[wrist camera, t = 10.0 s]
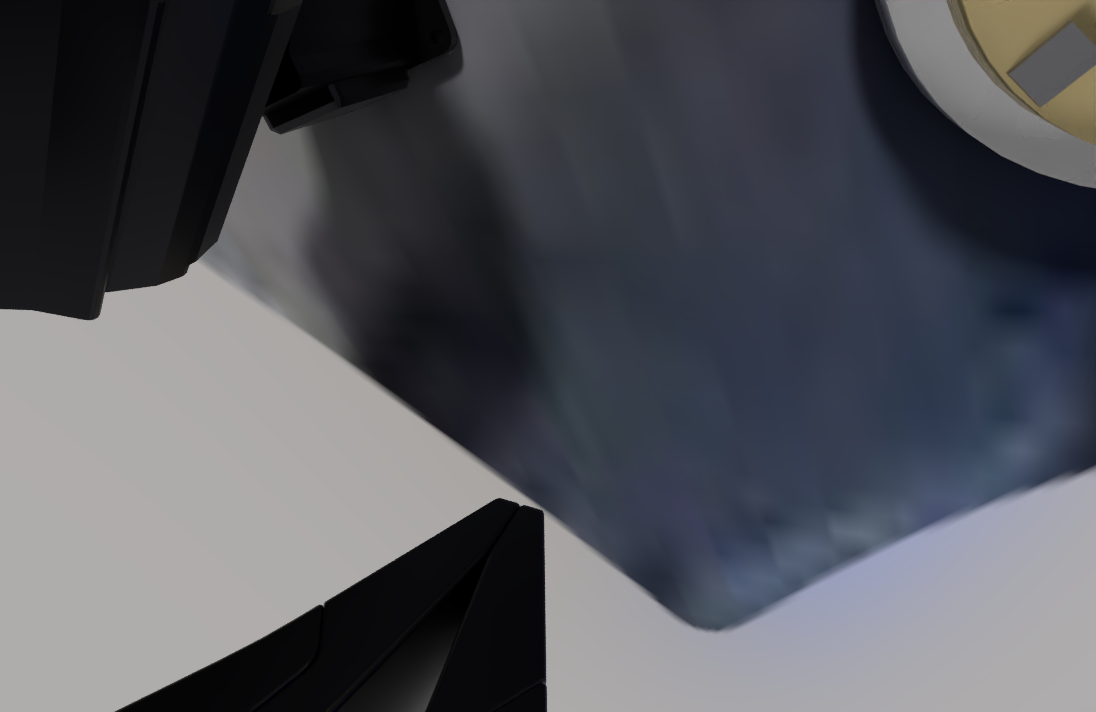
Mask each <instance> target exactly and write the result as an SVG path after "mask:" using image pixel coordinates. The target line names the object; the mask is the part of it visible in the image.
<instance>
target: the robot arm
mask: <svg viewBox="0 0 1096 712" xmlns="http://www.w3.org/2000/svg"><path fill="white" fill-rule="evenodd" d="M438 28H439V29H440V30H441V31H442V32H443V34H444V42H443V44H442V45H441V44H439V43H438V42H437V40H436V38H435V32H436V30H437V29H438ZM456 41H457V35H456V30H455V27H454V25H453V22H452V19H451V17H450V14H449V11H448V9H447V6H446V3H445V1H444V0H0V309H15V310H16V309H17V310H34V311H40V312H45V313H50V314H56V315H61V316H67V317H73V318H77V319H83V320H93V319H96V318H98V316H99V315H100V312H101V307H102V303H103V298H104V293H105V292H111V291H120V290H127V289H134V288H142V287H150V286H157V285H160V284H162V283H165V282H168V281H171V280H174V279H176V278H179V277H182V276H184V275H185V274H186V273H187V270H188V267H189V265H190V264H192V263H194V262H196V261H197V260H198V259H199V258H200V257H201V256H202V255H203V254H204V253H205V252H206V251H207V250H208V249H209V248H210V247H211V246H212V245H214V244H215V243H216V242H217V241H218V238H219V235H220V232H221V229H222V227H223V224H224V221H225V218H226V215H227V213H228V210H229V207H230V204H231V201H232V198H233V196H234V193H235V190H236V187H237V184H238V182H239V179H240V176H241V173H242V170H243V168H244V165H245V162H246V159H247V156H248V153H249V151H250V148H251V145H252V142H253V139H254V137H255V134H256V131H257V128H258V125H259V123H260V120H261V117H264V119H265V121H266V123H267V125H268V126H269V128H270V130H271V131H274V132H276V133H278V134H284V133H287V132H290V131H293V130H296V129H299V128H302V127H305V126H308V125H311V124H315V123H318V122H321V121H324V120H327V119H330V118H333V117H336V116H339V115H342V114H345V113H349V112H352V111H354V110H356V109H359V108H361V107H363V106H366V105H368V104H370V103H373V102H375V101H377V100H380V99H382V98H384V97H387V96H389V95H391V94H394V93H396V92H398V91H401V90H403V89H405V88H407V86H408V83H409V80H410V78H409V76H408V74H407V71H409V70H411V69H414V68H416V67H418V66H420V65H423V64H425V63H427V62H429V61H432V60H434V59H436V58H438V57H441V56H443V55H445V54H447V53H449V52H451V51H452V50H453V49H454V47H455V45H456ZM544 553H545V552H544V513H543V511H542V510H539V509H536V508H533V507H529V506H526V505H523V506H521V507H520V506H519V504H518V503H515V502H512V501H508V500H505V499H501V498H498V499H495V500H493V501H492V502H490V503H488V504H487V505H485V506H483V507H482V508H480V509H478V510H477V511H475V512H473V513H472V514H470V515H469V516H467V517H465V518H463V519H462V520H460V521H458V522H457V523H456V524H453V525H452V526H450V527H449V528H447V529H445V530H444V531H442V532H440V533H439V534H437V535H435V536H434V537H432V538H430V539H429V540H427V541H425V542H424V543H422V544H420V545H419V546H417V547H415V548H414V549H412V550H410V551H409V552H407V553H406V554H404V555H402V556H400V557H399V558H397V559H395V560H394V561H392V562H391V563H389V564H387V565H385V566H384V567H382V568H381V569H379V570H377V571H376V572H374V573H372V574H371V575H369V576H367V577H366V578H364V579H362V580H361V581H359V582H357V583H356V584H354V585H352V586H351V587H349V588H347V589H346V590H344V591H342V592H341V593H339V594H337V595H336V596H334V597H332V598H331V599H329V600H327V601H326V602H325V603H324V606H322V605H318V606H316V607H314V608H313V609H311V610H310V611H308V612H306V613H305V614H303V615H301V616H299V617H298V618H296V619H294V620H293V621H291V622H289V623H287V624H286V625H284V626H282V627H280V628H279V629H277V630H275V631H274V632H272V633H270V634H268V635H267V636H265V637H263V638H261V639H259V640H257V641H255V642H253V643H252V644H250V645H248V646H246V647H244V648H242V649H240V650H238V651H236V652H234V653H232V654H230V655H228V656H226V657H225V658H222V659H220V660H218V661H217V662H214V663H212V664H210V665H208V666H206V667H205V668H203V669H200V670H198V671H196V672H194V673H192V674H190V675H188V676H186V677H184V678H182V679H180V680H178V681H176V682H174V683H172V684H170V685H168V686H166V687H164V688H162V689H160V690H158V691H156V692H154V693H152V694H150V695H147V696H145V697H143V698H141V699H139V700H137V701H135V702H133V703H131V704H129V705H127V706H125V707H123V708H121V709H119V710H117V711H115V712H547V687H546V633H545V632H546V631H545V629H546V626H545V555H544Z"/></svg>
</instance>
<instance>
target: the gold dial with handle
mask: <svg viewBox="0 0 1096 712" xmlns="http://www.w3.org/2000/svg"><path fill="white" fill-rule="evenodd" d="M946 1H947V4H948V7H949V10H950V13H951V16H952V19H953V22H954V24H955V26H956V28H957V30H958V32H959V34H960V35H961V37H962V39H963V41H964V43H965V45H966V46H967V48H968V50H969V52H970V54H971V55H972V57H973V58H974V59H975V61H976V62H977V63H978V64H979V65H980V67H981V68H982V69H983V70H984V72H985V73H986V74H987V75H988V77H989V78H990V79H991V80H992V82H993V83H994V84H995V85H996V86H998V87H999V88H1000V89H1001V90H1002V91H1003V92H1004V93H1006V94H1007V95H1008V96H1009V97H1010V98H1011V99H1013V100H1014V101H1015V102H1016V103H1017V104H1018V105H1020V106H1021V107H1022V108H1024V109H1026V110H1027V111H1029V112H1031V113H1032V114H1034V115H1036V116H1037V117H1039V118H1041V119H1042V120H1044V121H1046V122H1047V123H1049V124H1051V125H1053V126H1055V127H1057V128H1059V129H1061V130H1063V131H1065V132H1067V133H1069V134H1071V135H1073V136H1075V137H1077V138H1079V139H1081V140H1083V141H1086V142H1088V143H1091V144H1093V145H1096V0H946Z"/></svg>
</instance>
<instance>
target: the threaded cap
mask: <svg viewBox="0 0 1096 712" xmlns="http://www.w3.org/2000/svg"><path fill="white" fill-rule="evenodd" d="M874 2H875V5H876V8H877V11H878V14H879V17H880V20H881V23H882V26H883V29H884V33H885V35H886V37H887V39H888V41H889V43H890V45H891V47H892V49H893V51H894V52H895V54H896V56H897V58H898V60H899V62H900V64H901V66H902V67H903V69H904V70H905V72H906V73H907V74H908V76H909V77H910V78H911V80H912V81H913V82H914V84H915V85H916V86H917V88H918V89H919V90H920V92H921V93H922V94H923V95H924V96H925V97H926V98H927V99H928V100H929V101H930V102H931V103H932V104H933V105H934V106H935V107H936V108H937V109H938V110H939V111H941V112H942V113H943V114H944V115H945V116H946V117H947V118H948V119H949V120H951V121H952V122H953V123H955V124H956V125H957V126H959V127H960V128H961V129H963V130H964V131H965V132H967V133H968V134H969V135H971V136H972V137H974V138H975V139H977V140H978V141H980V142H981V143H983V144H984V145H986V146H987V147H989V148H990V149H992V150H993V151H995V152H996V153H998V154H999V155H1001V156H1002V157H1005V158H1007V159H1009V160H1011V161H1013V162H1015V163H1018V164H1020V165H1022V166H1024V167H1026V168H1028V169H1030V170H1033V171H1035V172H1037V173H1039V174H1043V175H1046V176H1050V177H1053V178H1056V179H1060V180H1063V181H1066V182H1070V183H1073V184H1076V185H1080V186H1086V187H1092V188H1096V145H1093V144H1091V143H1088V142H1086V141H1083V140H1081V139H1079V138H1077V137H1075V136H1073V135H1071V134H1069V133H1067V132H1065V131H1063V130H1061V129H1059V128H1057V127H1055V126H1053V125H1051V124H1049V123H1047V122H1046V121H1044V120H1042V119H1041V118H1039V117H1037V116H1036V115H1034V114H1032V113H1031V112H1029V111H1027V110H1026V109H1024V108H1022V107H1021V106H1020V105H1018V104H1017V103H1016V102H1015V101H1014V100H1013V99H1011V98H1010V97H1009V96H1008V95H1007V94H1006V93H1004V92H1003V91H1002V90H1001V89H1000V88H999V87H998V86H996V85H995V84H994V83H993V82H992V80H991V79H990V78H989V77H988V75H987V74H986V73H985V72H984V70H983V69H982V68H981V67H980V65H979V64H978V63H977V62H976V61H975V59H974V58H973V57H972V55H971V54H970V52H969V50H968V48H967V46H966V45H965V43H964V41H963V39H962V37H961V35H960V34H959V32H958V30H957V28H956V26H955V24H954V22H953V19H952V16H951V13H950V10H949V7H948V4H947V1H946V0H874Z"/></svg>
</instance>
